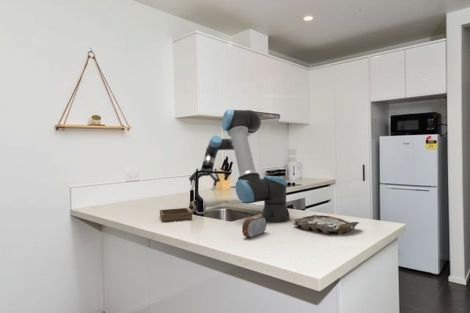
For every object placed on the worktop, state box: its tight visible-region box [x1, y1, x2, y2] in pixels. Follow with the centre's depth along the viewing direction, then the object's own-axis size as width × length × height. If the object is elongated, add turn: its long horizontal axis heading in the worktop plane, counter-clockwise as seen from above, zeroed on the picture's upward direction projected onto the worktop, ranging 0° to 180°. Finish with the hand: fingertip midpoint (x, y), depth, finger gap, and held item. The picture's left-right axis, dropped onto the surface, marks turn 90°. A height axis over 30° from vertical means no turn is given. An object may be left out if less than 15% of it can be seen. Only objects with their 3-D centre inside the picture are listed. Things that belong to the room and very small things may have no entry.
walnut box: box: [159, 207, 193, 223], centre depth 184 cm, size 16×16×4 cm
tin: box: [241, 214, 267, 239], centre depth 145 cm, size 15×3×8 cm, turn 141°
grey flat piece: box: [293, 214, 360, 235], centre depth 156 cm, size 30×22×5 cm
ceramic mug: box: [189, 199, 207, 215], centre depth 199 cm, size 11×8×8 cm
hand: (202, 189), depth 209 cm, fingers open, 13 cm apart
